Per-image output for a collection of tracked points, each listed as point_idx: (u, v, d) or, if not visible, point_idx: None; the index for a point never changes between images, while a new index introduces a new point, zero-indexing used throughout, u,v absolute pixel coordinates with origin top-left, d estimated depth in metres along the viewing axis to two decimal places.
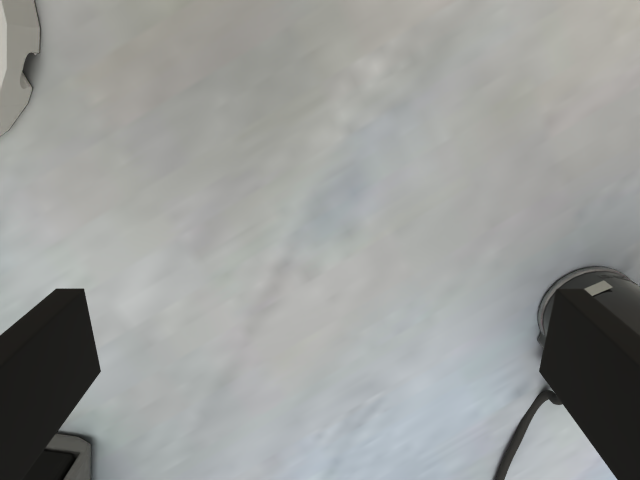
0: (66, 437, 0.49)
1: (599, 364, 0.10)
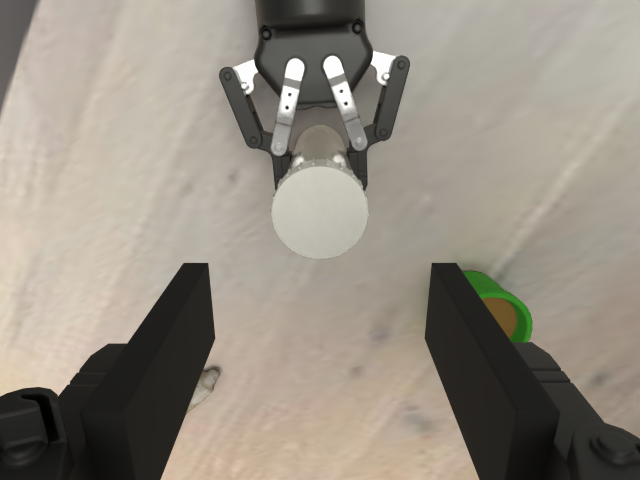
0: None
1: (449, 324, 0.12)
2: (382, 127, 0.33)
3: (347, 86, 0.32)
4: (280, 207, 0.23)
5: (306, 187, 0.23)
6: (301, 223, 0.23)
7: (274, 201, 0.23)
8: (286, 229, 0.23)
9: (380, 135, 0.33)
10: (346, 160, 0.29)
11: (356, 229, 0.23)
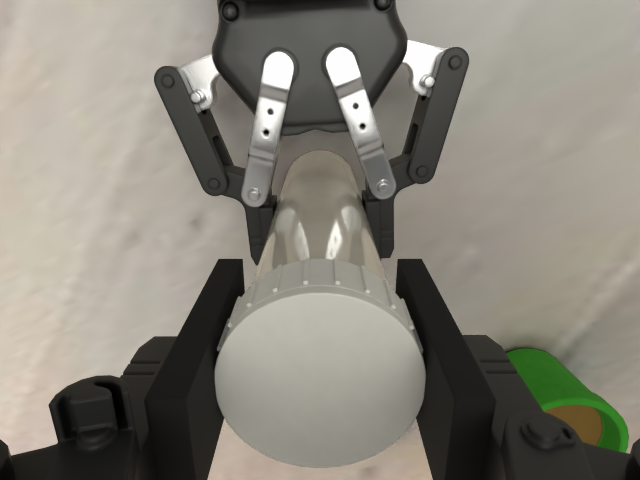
0: None
1: None
2: (420, 163, 0.21)
3: (365, 98, 0.19)
4: (233, 374, 0.10)
5: (289, 335, 0.10)
6: (279, 404, 0.11)
7: (219, 362, 0.10)
8: (247, 415, 0.11)
9: (417, 175, 0.21)
10: (366, 229, 0.17)
11: (398, 415, 0.11)
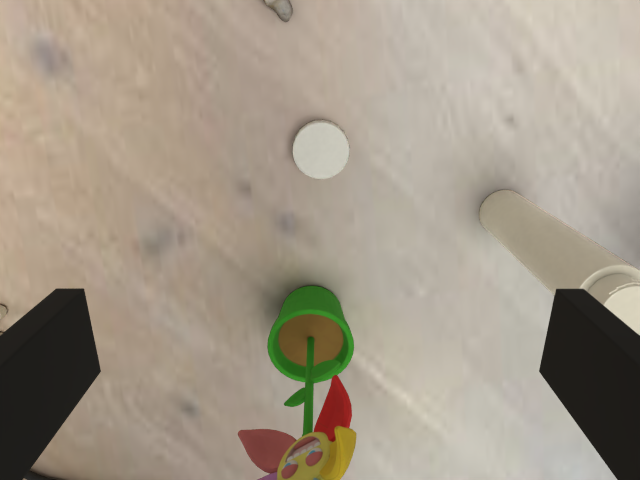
0: None
1: (599, 364, 0.10)
2: None
3: None
4: (322, 174, 0.40)
5: (307, 162, 0.40)
6: (328, 160, 0.40)
7: (319, 178, 0.41)
8: (334, 168, 0.40)
9: None
10: None
11: (324, 127, 0.39)
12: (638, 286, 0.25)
